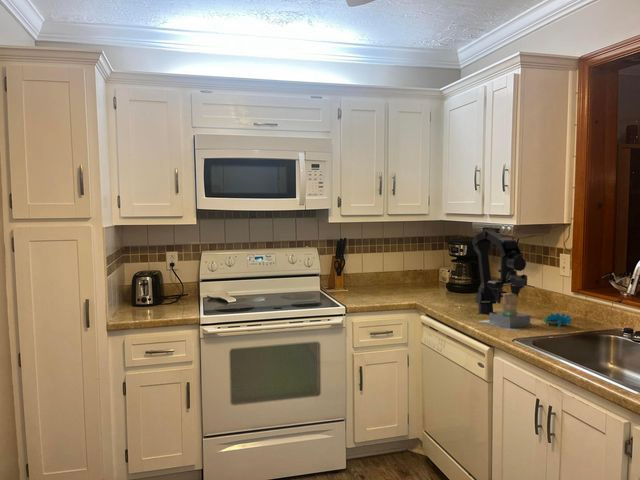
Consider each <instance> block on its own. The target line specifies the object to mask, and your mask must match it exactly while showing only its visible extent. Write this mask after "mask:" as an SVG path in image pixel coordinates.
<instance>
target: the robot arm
mask: <svg viewBox="0 0 640 480" xmlns="http://www.w3.org/2000/svg"><path fill="white" fill-rule="evenodd" d="M471 241H472V242H471V243H472V246H473V250H474V251H475V253H476V254H477V258H478V259H477V260H478V267H479V268H478V269H479V275H480V276H479V277H480V285H479V287H478V289H477V291H478V292H477V295H476V296H475V298H474V301H475V303H476V304H477V305H478V313H476V314H475V316H477V315H487V316H489V313H491V312H494V306H493V304H495V305H496V304H499V305H500V304H501V302H502V301H501V300H502V292H503V291H504V288H503V287H505V286H510V291H511V292H510V293H513V294H517V297H518V296H519V294H520V292H521V290H522V289H524V288H525V287H527V286H528V275H526V274H521V275H519V274H518V272H522V271H524V270H525V268H526V266H527V261H526V260H525V259H524V258H523V256H522V251H521V249H520V247H519V244H518V243H517V240H515V239H513V238H505V237H504V236H502V235H501V234H499V233H497V232H496V231H495V230H494V229H485V230H483V231H481V232H480V233H478V234H476V235H475V236H474V237H473V239H472V240H471ZM492 244H494V245H495V246H496V248H497V250H498V251H499V252H500V254H499V255H498V257H500V269H498V272H499V274H500V278H498V280H494V279H493V280H492V275H491V266H490V257H489V252H490V251H491V249H492ZM517 271H518V272H517Z"/></svg>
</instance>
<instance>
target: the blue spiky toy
mask: <svg viewBox="0 0 640 480" xmlns="http://www.w3.org/2000/svg"><path fill="white" fill-rule="evenodd" d="M572 319H573V318H571V316H570V315H568V314H566V313H563V312H562V313H561V314H560V312H556V313H555V314H554V313H553V312H552V313H550V315H547V317H544V318H543V322H544V323H545V325H546V326H550V325H557V327H558V328H561V325H564V326H568V325H570V324H571V323H572V322H571V321H573V320H572Z"/></svg>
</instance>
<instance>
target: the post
mask: <svg viewBox="0 0 640 480" xmlns="http://www.w3.org/2000/svg"><path fill="white" fill-rule="evenodd" d="M517 299H518V296H517V294H513V293H511V292H506V293H502V311H503V314H506V315H509V316H510V315H516V314H517V312H518V311H517V305H518V304H517V303H518V302H517V301H518V300H517Z"/></svg>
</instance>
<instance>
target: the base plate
mask: <svg viewBox="0 0 640 480" xmlns="http://www.w3.org/2000/svg"><path fill="white" fill-rule="evenodd" d="M478 323H483V324H486V325H488V326H489V325H490V326H495V328H497V327H498V328H501V329H503V330H506V331H510V332H516V331H521V330H524V328H520V327H516V328H507V327H501V326H500V325H496V324H493V323H489V319H485V320H484V319H483V320H479V321H478ZM529 326H530V328H533V327H535V328H538V327H540V325H538V324H534V323H531V322H530V325H529Z"/></svg>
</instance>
